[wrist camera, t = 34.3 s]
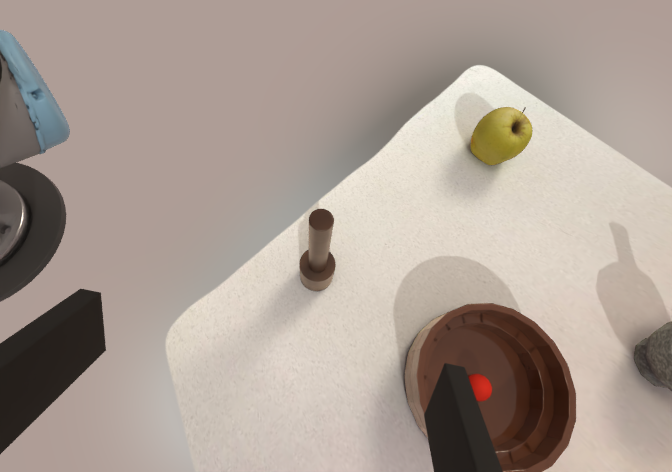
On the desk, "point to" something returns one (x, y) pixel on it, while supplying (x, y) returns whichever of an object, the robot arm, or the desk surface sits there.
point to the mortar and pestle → (656, 357)
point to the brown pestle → (318, 252)
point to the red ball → (480, 387)
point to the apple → (501, 135)
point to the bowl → (500, 380)
